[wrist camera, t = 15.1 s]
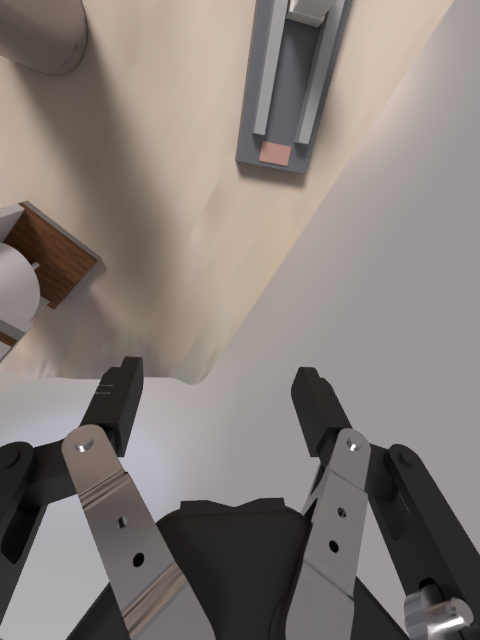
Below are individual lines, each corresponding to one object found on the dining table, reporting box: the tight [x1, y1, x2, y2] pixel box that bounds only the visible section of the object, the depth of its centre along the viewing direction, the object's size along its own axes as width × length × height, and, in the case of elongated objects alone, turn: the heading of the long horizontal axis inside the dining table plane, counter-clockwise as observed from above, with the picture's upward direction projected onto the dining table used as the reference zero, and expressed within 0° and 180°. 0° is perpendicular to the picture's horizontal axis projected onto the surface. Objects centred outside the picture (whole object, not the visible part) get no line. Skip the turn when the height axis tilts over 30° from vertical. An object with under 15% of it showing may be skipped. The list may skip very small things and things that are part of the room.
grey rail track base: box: [235, 0, 352, 174], centre depth 27 cm, size 20×9×4 cm, turn 171°
